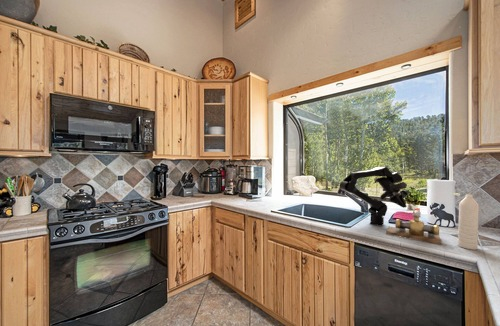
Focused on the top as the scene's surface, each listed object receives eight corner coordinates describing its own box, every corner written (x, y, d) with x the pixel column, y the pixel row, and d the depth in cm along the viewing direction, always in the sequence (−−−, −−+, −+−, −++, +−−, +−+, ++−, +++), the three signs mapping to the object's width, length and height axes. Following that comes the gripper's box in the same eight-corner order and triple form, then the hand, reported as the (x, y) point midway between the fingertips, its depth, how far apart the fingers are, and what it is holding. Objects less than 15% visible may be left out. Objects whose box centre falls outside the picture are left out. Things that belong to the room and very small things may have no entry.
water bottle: (475, 246, 101) (477, 194, 100) (479, 251, 96) (481, 196, 95) (450, 241, 106) (452, 192, 105) (452, 246, 101) (454, 194, 100)
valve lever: (420, 218, 110) (420, 212, 110) (412, 217, 113) (412, 211, 112) (420, 213, 120) (420, 208, 120) (413, 212, 122) (413, 207, 122)
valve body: (395, 231, 116) (395, 215, 116) (396, 228, 121) (396, 213, 121) (439, 239, 105) (439, 221, 105) (438, 236, 110) (438, 218, 110)
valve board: (385, 233, 117) (386, 231, 117) (388, 228, 126) (388, 226, 125) (440, 244, 103) (440, 241, 103) (439, 238, 111) (439, 235, 111)
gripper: (385, 177, 123) (404, 200, 113) (407, 176, 130) (426, 198, 120) (373, 189, 131) (389, 211, 121) (394, 187, 137) (411, 208, 127)
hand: (405, 207), depth 122 cm, fingers closed
